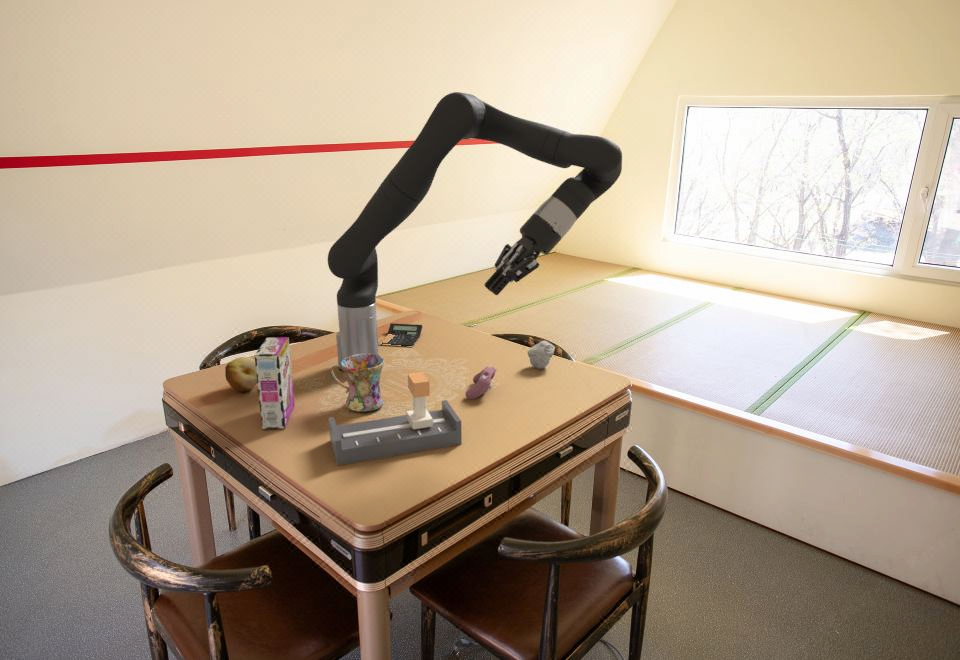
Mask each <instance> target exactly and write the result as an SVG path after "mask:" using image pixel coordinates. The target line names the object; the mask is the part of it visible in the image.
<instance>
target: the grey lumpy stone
mask: <svg viewBox="0 0 960 660" xmlns="http://www.w3.org/2000/svg"><path fill="white" fill-rule="evenodd" d="M555 348H556V347H555V346H554V345H553V344H552V343H550V342H549V341H547V340H542V341H539V342H538V343H536V344H535V345H533V346H532V347H531V348H529V350H527V356H528V358H529V363H530V365H531V366H532V367H533V368H535V369H537V370H538V369H539V370H542V369H545V368H546V367H548V365H549V363H550V360H551V358H553V356H554V353H555V351H556V350H555Z"/></svg>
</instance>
